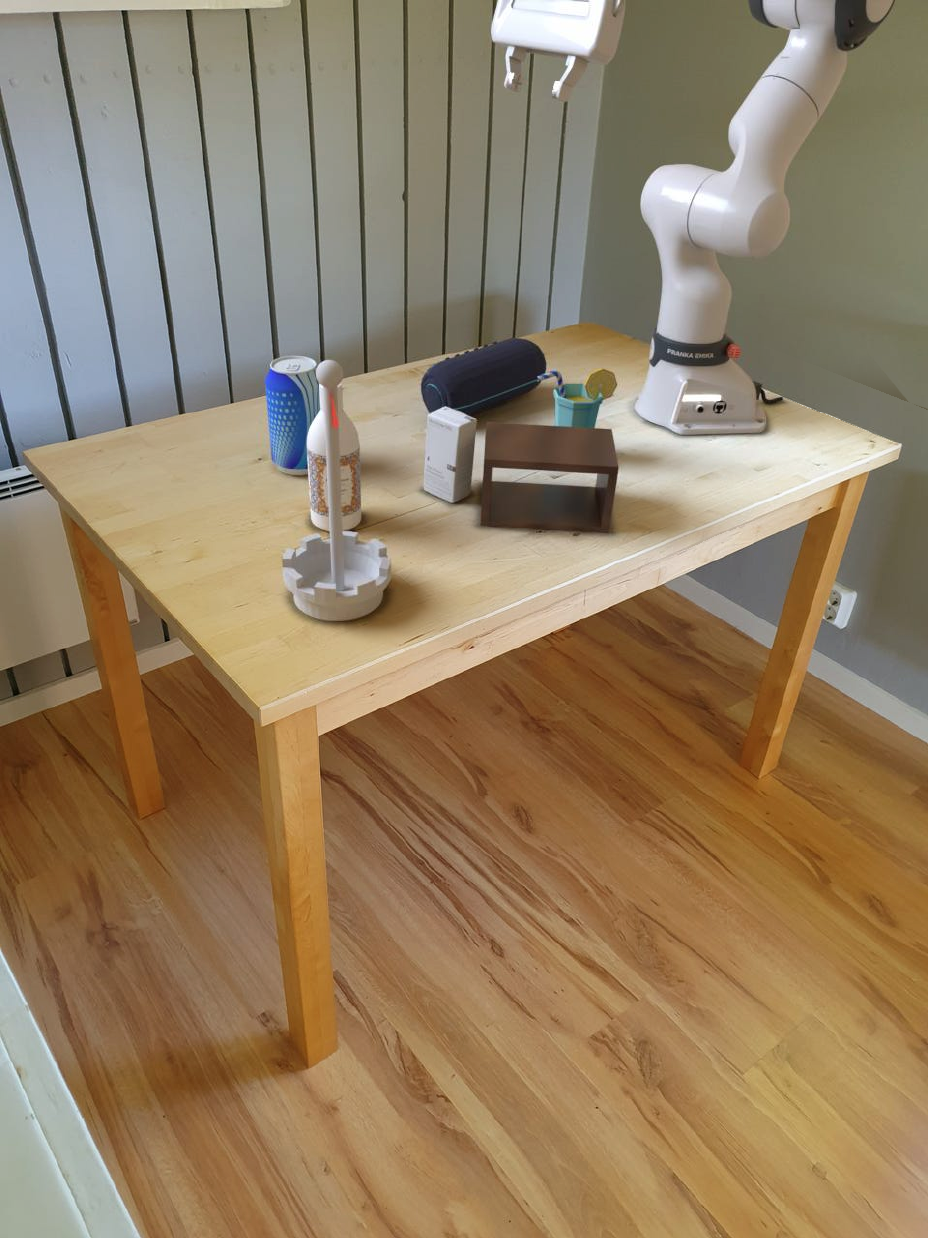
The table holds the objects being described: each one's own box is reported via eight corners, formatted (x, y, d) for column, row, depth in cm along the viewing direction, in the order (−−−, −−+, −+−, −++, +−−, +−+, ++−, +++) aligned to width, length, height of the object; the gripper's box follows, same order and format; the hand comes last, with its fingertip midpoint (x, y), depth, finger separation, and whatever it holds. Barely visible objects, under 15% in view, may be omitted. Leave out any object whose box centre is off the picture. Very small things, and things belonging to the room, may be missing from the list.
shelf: (602, 491, 144) (611, 428, 138) (609, 532, 134) (618, 467, 128) (482, 484, 144) (486, 421, 138) (480, 525, 134) (484, 459, 128)
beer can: (260, 464, 146) (251, 362, 137) (303, 447, 151) (297, 348, 142) (296, 483, 142) (288, 379, 132) (339, 465, 147) (335, 364, 137)
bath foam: (313, 535, 130) (305, 395, 118) (308, 510, 136) (300, 374, 124) (364, 531, 131) (361, 393, 120) (357, 506, 137) (354, 371, 125)
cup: (542, 475, 147) (551, 382, 138) (516, 454, 152) (523, 363, 144) (616, 458, 153) (629, 368, 144) (588, 439, 158) (599, 350, 149)
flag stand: (278, 572, 122) (259, 342, 105) (379, 561, 126) (376, 335, 108) (292, 632, 112) (273, 389, 95) (401, 618, 115) (403, 380, 98)
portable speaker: (508, 379, 178) (512, 326, 172) (549, 396, 172) (555, 341, 166) (409, 416, 163) (409, 359, 157) (451, 435, 157) (453, 377, 151)
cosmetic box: (422, 490, 142) (423, 413, 134) (441, 480, 144) (444, 404, 137) (454, 505, 138) (457, 427, 131) (473, 494, 141) (477, 417, 134)
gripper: (651, -18, 109) (608, 114, 114) (537, -27, 122) (504, 92, 127) (614, -41, 104) (571, 97, 110) (501, -47, 118) (468, 76, 123)
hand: (534, 94), depth 119 cm, fingers open, 8 cm apart
